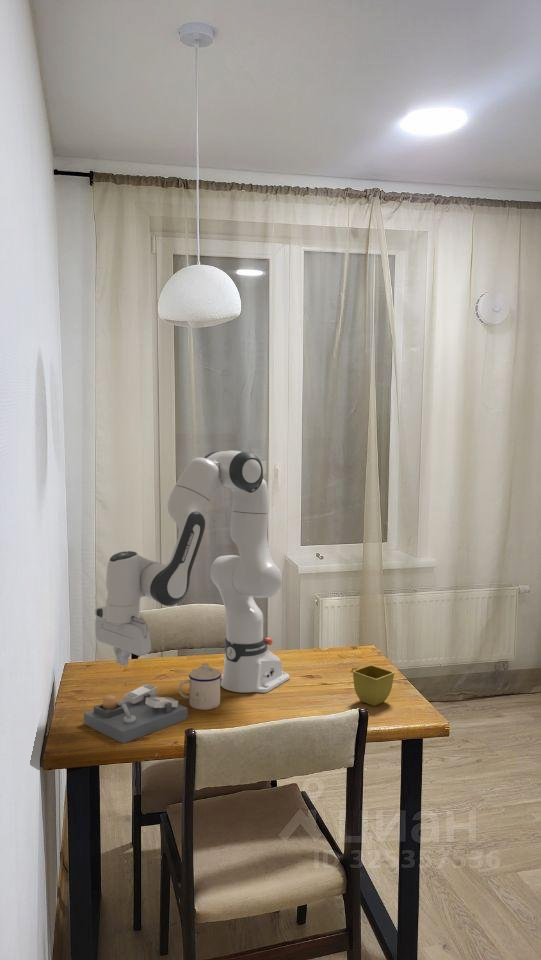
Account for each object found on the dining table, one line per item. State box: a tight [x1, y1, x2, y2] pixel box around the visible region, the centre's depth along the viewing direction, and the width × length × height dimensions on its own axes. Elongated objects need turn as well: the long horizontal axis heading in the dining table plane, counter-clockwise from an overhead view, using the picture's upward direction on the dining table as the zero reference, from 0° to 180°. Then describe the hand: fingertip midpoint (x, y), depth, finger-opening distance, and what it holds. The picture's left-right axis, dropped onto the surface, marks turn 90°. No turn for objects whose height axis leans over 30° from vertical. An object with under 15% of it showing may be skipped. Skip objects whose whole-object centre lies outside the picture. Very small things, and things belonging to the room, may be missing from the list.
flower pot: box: [352, 664, 395, 707], centre depth 209 cm, size 9×9×9 cm
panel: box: [83, 688, 188, 744], centre depth 193 cm, size 21×18×8 cm
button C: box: [102, 694, 118, 709], centre depth 191 cm, size 4×4×2 cm
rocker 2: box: [145, 696, 179, 708], centre depth 194 cm, size 8×4×2 cm, turn 138°
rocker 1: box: [123, 683, 158, 704], centre depth 200 cm, size 8×4×2 cm, turn 138°
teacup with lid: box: [178, 662, 222, 711], centre depth 205 cm, size 12×9×12 cm
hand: (122, 664), depth 194 cm, fingers closed
